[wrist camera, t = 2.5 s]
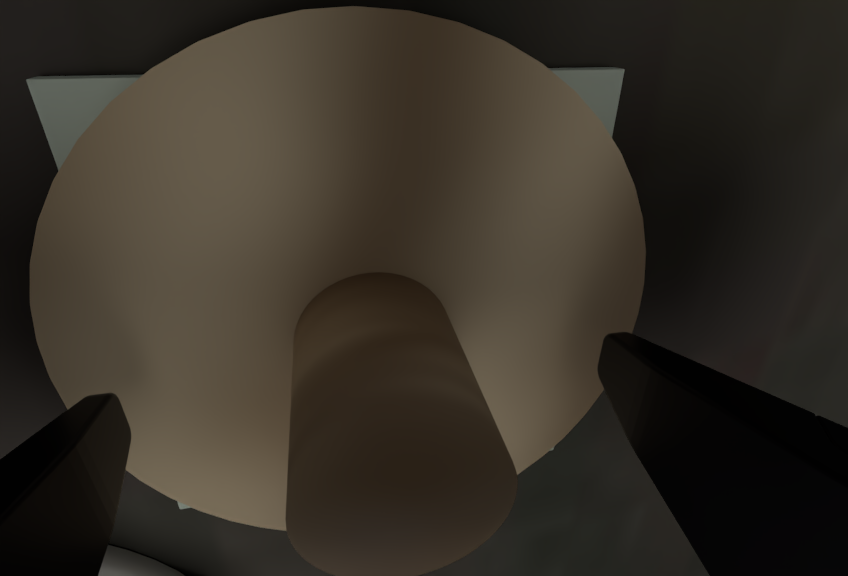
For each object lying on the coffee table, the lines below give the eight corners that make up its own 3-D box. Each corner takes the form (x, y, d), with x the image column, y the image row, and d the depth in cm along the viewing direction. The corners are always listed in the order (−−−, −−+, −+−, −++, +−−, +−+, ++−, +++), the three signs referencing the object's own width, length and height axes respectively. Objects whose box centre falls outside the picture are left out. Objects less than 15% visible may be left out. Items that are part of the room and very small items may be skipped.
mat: (613, 67, 10) (624, 69, 9) (547, 439, 15) (553, 449, 14) (38, 76, 8) (26, 79, 8) (183, 495, 13) (180, 509, 12)
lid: (686, 8, 9) (1000, 10, 5) (579, 468, 15) (682, 643, 11) (-82, 2, 7) (-645, -1, 3) (147, 539, 13) (72, 791, 9)
